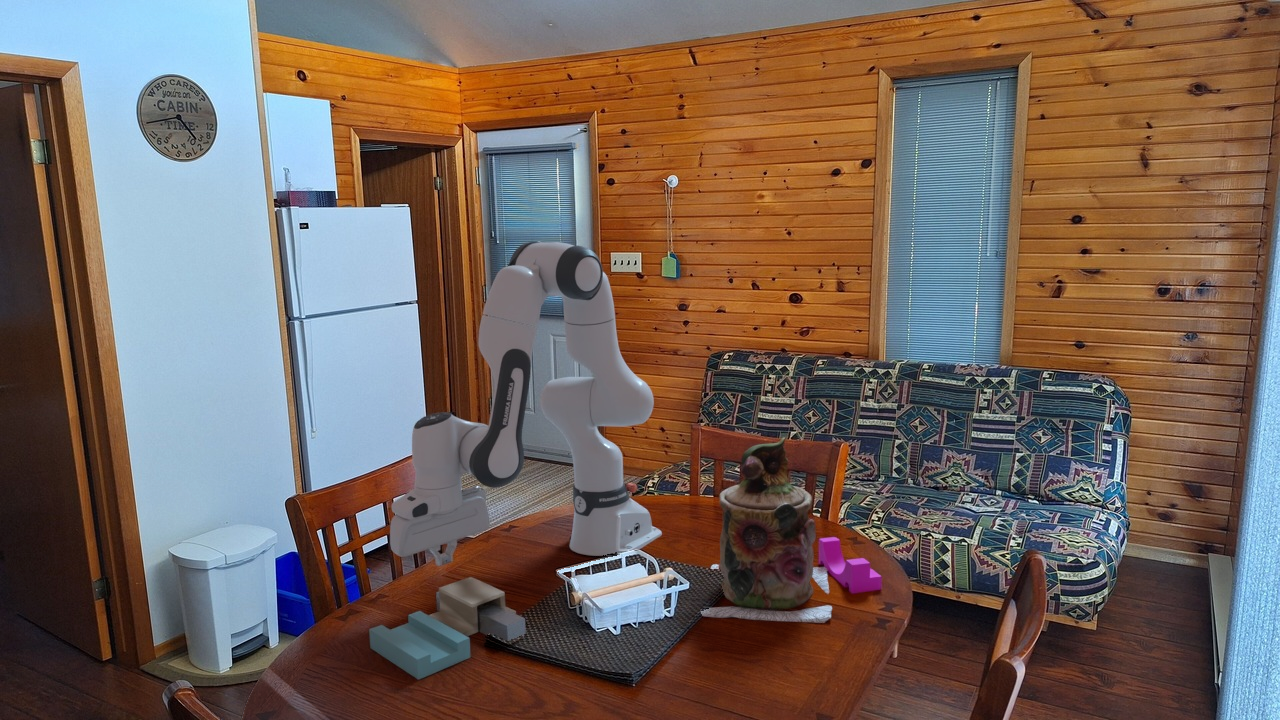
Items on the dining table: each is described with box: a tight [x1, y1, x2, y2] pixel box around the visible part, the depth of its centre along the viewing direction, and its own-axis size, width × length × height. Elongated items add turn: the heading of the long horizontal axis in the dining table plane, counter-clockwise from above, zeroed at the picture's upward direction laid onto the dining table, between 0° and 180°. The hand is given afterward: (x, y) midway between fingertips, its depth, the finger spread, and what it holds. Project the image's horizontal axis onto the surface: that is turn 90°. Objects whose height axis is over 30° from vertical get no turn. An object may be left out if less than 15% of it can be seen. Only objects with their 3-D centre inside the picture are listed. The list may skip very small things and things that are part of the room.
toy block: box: [818, 536, 883, 594], centre depth 168 cm, size 15×6×8 cm, turn 13°
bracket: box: [428, 576, 517, 637], centre depth 156 cm, size 12×11×6 cm
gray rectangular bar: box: [435, 591, 527, 641], centre depth 154 cm, size 4×22×4 cm, turn 47°
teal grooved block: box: [368, 610, 471, 681], centre depth 143 cm, size 10×16×4 cm, turn 46°
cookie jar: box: [700, 437, 833, 624], centre depth 161 cm, size 25×25×32 cm
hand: (444, 563), depth 163 cm, fingers closed
